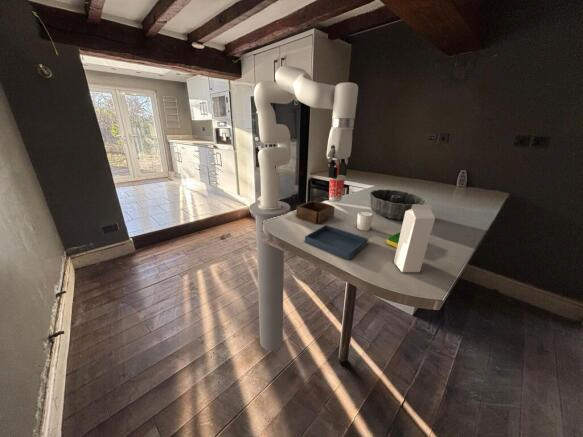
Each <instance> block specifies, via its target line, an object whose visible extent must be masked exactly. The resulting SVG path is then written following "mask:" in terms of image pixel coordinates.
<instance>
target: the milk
mask: <svg viewBox="0 0 583 437" xmlns="http://www.w3.org/2000/svg"><path fill="white" fill-rule="evenodd" d="M432 207H433V205H432V204H423V205H420V204H414V205H412V209H411V210H407V211H405V216H404V219H402V220H403V221H402V224H401V230H400V232H401V233H400V237H399V242H398V246H397V248H396V249H395V250H396V251H395V256H394V259H393V263H394V264H395V265H396V267H397V268H398V269H399V271H400V272H402V273H420V272H421V270H422V266H423V262H424V259H425V257H426V256H425V255H426V252H427V249H428V246H429V242H430V239H431V235H432V231H433V228H434V225H435V220H436V217H435V215H434V212H433V211H432Z"/></svg>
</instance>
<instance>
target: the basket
mask: <svg viewBox="0 0 583 437" xmlns="http://www.w3.org/2000/svg"><path fill="white" fill-rule="evenodd" d="M335 208H336V207H335V206H334V205H332V204H329V203H325V202H320V201H317V200H309V201H305V202H304V203H301V204H298V205H296V213H295V214H296V216H295V217H297V218H298V219H301V220H303V221H307V222H309V223H313V224H317V225H321V224H324V223H325V222H327V221H329V220H330V219H332V218H334V217H335Z"/></svg>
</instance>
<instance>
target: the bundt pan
mask: <svg viewBox="0 0 583 437" xmlns="http://www.w3.org/2000/svg"><path fill="white" fill-rule="evenodd" d="M369 198H370V202H369V203H370V209H371V211H372V212H373V213H375V214H377V215H379V216H382V217H383V218H388V219H391V220H393V219H396V220H397V221H400V220H404V216H405V211H407V210H411V209H412V205H414V204H420V205H424V203H426V200H425V199H424V198H423V197H421V196H419V195H417V194H414V193H410V192H407V191H403V190H397V189H376V190H375V189H373V190H372V191H369Z"/></svg>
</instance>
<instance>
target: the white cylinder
mask: <svg viewBox="0 0 583 437" xmlns="http://www.w3.org/2000/svg"><path fill="white" fill-rule="evenodd" d="M374 215H375V214H374V212H370V211H365V210H362V211H358V212H357V219H356V220H357V222H356V227H357V229H358V230H360V231H365V232H367V231H369V230H370V229H371V226H372V223H373V218H374Z"/></svg>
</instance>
